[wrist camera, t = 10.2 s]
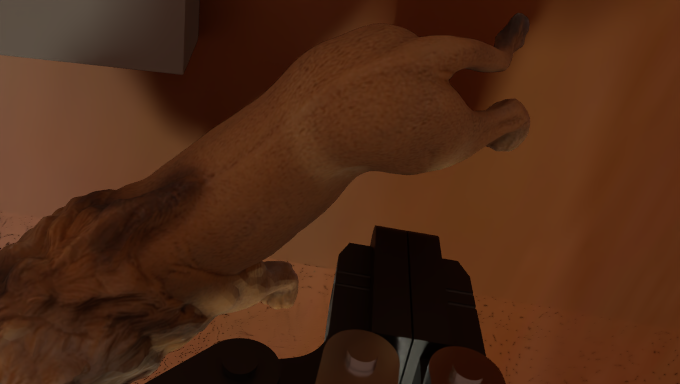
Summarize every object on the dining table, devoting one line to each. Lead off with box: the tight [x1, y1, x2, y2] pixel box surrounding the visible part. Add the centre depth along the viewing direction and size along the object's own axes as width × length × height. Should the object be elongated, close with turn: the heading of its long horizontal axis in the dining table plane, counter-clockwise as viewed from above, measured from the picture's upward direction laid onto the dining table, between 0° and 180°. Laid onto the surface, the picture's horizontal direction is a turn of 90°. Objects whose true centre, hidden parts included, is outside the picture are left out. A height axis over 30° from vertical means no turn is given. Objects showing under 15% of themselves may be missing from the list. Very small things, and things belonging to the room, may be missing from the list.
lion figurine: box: [0, 13, 530, 384], centre depth 10 cm, size 12×4×7 cm
